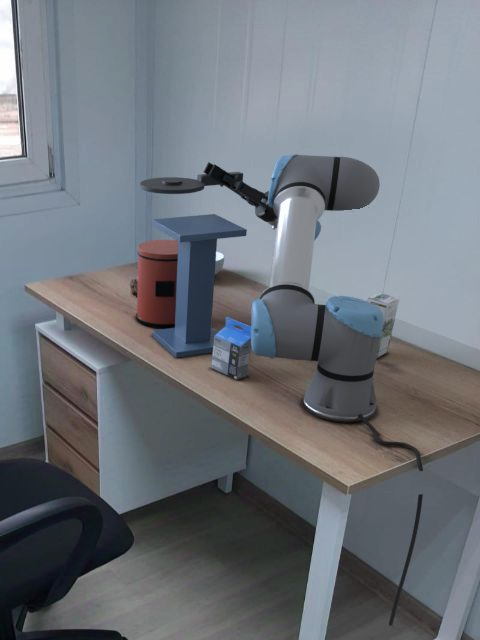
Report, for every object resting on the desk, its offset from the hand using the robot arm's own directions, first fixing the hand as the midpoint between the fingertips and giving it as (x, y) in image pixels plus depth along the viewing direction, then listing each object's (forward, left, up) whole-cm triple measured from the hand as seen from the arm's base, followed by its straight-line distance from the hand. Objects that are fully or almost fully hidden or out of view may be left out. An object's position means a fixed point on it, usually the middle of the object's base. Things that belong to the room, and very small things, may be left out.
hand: (209, 168), depth 189 cm
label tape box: (-39, +4, -39) cm, 56 cm away
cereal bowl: (+36, -8, -39) cm, 54 cm away
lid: (-1, +5, -4) cm, 6 cm away
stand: (-19, +8, -39) cm, 44 cm away
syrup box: (-34, -35, -39) cm, 63 cm away
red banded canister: (-1, +11, -39) cm, 41 cm away
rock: (+19, +11, -39) cm, 45 cm away
